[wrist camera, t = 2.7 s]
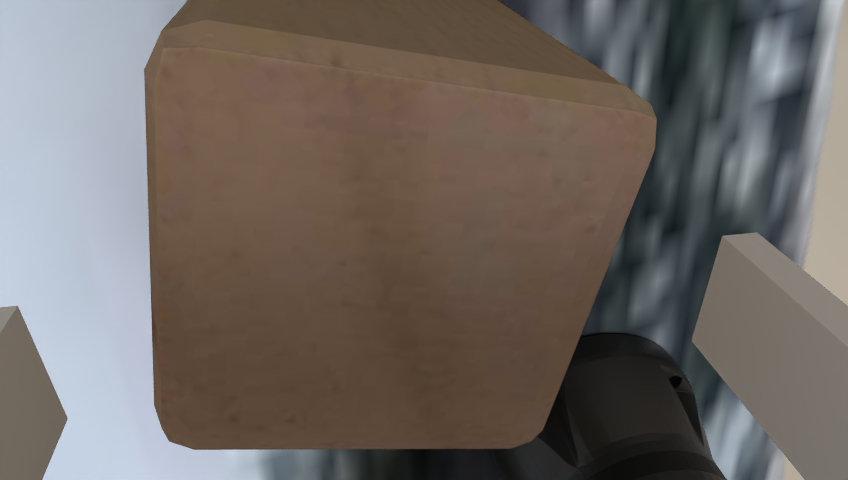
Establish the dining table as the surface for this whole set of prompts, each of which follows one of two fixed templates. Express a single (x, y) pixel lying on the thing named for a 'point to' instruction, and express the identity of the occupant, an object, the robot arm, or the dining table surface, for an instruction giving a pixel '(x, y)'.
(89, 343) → the dining table surface
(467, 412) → the wooden block
